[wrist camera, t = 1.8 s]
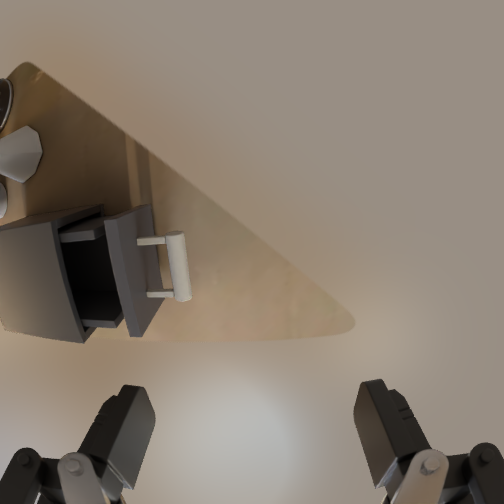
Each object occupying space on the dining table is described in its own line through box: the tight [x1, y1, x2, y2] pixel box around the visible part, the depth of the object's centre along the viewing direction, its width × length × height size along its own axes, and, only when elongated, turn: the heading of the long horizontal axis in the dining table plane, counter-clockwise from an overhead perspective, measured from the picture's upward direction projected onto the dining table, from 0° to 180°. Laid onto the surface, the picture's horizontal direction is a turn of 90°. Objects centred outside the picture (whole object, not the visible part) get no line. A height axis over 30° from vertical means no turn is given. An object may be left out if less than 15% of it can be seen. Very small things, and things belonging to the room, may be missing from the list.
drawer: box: [57, 204, 192, 337], centre depth 24 cm, size 17×10×8 cm, turn 93°
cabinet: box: [0, 204, 105, 344], centre depth 25 cm, size 14×12×10 cm
